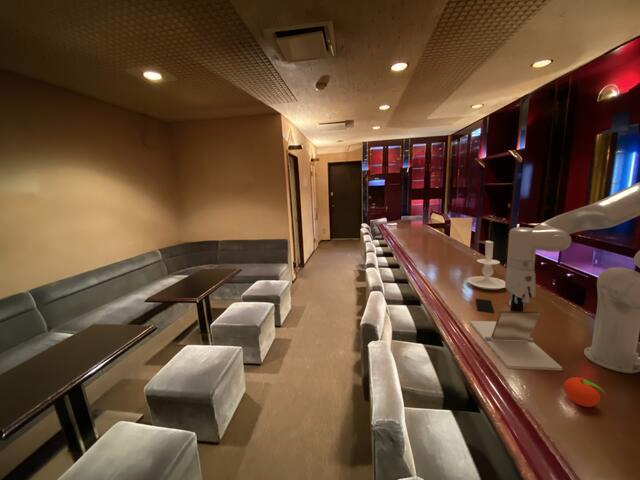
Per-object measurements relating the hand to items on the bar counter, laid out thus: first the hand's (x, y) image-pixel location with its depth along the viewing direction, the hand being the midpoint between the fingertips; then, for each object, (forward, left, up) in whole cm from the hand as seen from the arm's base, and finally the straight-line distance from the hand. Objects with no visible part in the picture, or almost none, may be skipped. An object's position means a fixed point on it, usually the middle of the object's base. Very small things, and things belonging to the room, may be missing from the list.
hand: (516, 312), depth 94 cm
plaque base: (+2, -2, -14) cm, 14 cm away
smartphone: (+23, -28, -15) cm, 39 cm away
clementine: (-22, +14, -14) cm, 29 cm away
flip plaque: (+1, -1, -5) cm, 5 cm away
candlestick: (+33, -56, -14) cm, 67 cm away
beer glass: (+14, -40, -14) cm, 45 cm away
